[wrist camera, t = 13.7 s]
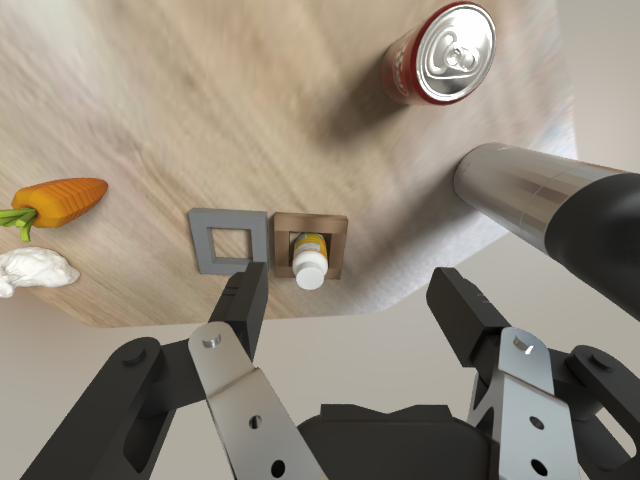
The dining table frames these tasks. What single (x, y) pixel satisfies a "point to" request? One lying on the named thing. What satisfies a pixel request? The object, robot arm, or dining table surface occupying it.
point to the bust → (34, 269)
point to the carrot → (52, 203)
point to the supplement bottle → (310, 260)
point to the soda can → (440, 57)
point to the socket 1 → (227, 219)
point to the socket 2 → (309, 224)
